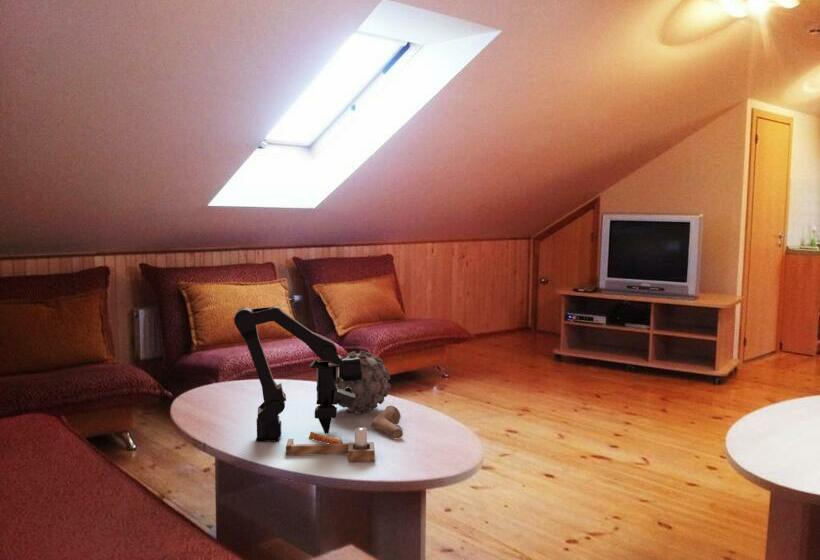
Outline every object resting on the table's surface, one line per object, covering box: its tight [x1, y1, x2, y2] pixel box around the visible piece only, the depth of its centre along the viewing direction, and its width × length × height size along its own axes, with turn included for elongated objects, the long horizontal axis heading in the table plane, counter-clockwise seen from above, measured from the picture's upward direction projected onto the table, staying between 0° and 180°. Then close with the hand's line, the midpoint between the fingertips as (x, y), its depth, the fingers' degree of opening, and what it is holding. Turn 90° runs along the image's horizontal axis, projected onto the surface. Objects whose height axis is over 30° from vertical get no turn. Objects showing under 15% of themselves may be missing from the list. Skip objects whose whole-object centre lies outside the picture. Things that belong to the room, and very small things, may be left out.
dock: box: [285, 438, 376, 463], centre depth 195 cm, size 24×13×3 cm, turn 95°
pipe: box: [370, 405, 404, 439], centre depth 216 cm, size 6×17×10 cm
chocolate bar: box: [308, 431, 343, 444], centre depth 206 cm, size 3×12×2 cm, turn 53°
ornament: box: [336, 350, 391, 414], centre depth 237 cm, size 20×20×20 cm
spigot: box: [354, 426, 368, 450], centre depth 193 cm, size 3×3×8 cm
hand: (326, 433), depth 212 cm, fingers closed
